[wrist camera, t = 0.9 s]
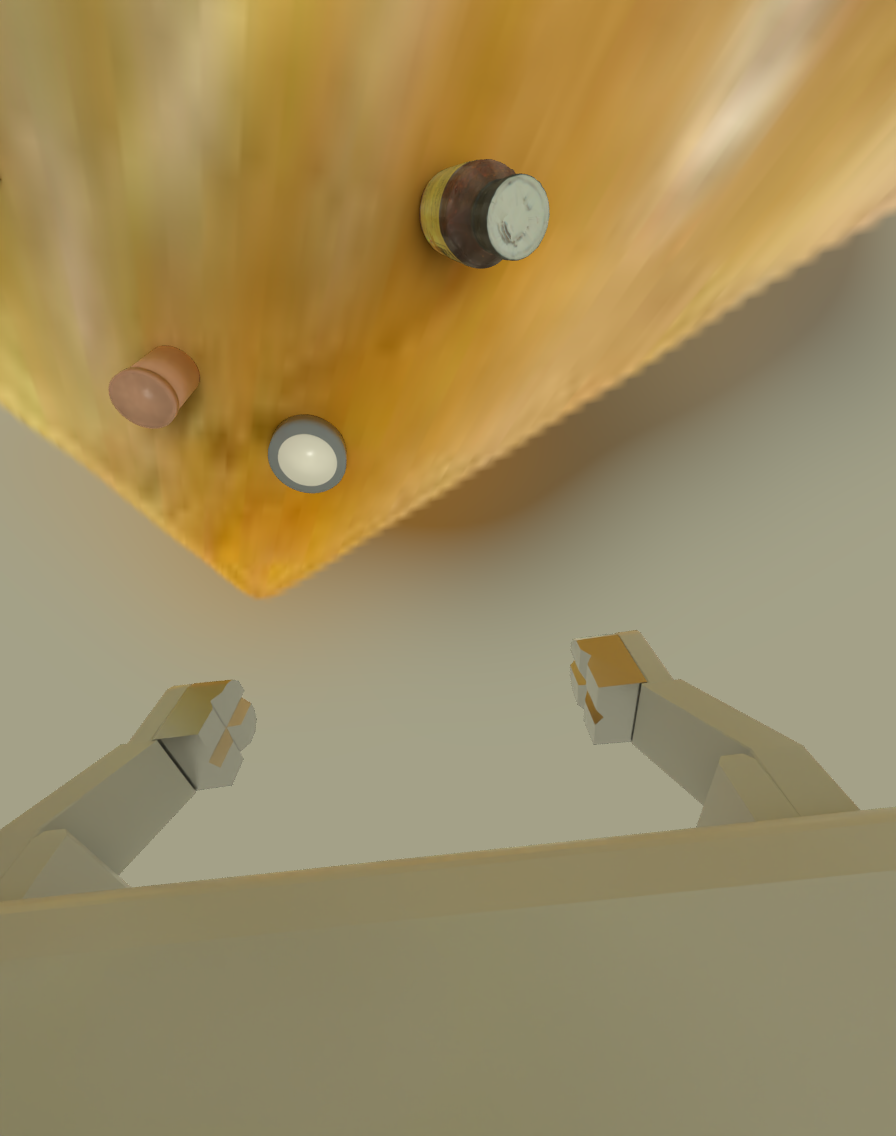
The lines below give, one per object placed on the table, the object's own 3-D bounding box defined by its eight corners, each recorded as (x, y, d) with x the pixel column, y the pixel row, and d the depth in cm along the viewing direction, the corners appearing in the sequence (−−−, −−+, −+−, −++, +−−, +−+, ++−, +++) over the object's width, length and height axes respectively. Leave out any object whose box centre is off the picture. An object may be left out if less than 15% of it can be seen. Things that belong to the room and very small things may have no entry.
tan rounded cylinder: (135, 347, 42) (95, 375, 35) (186, 340, 42) (155, 367, 36) (163, 398, 45) (130, 432, 39) (210, 391, 46) (186, 424, 39)
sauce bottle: (423, 259, 41) (461, 292, 27) (412, 173, 37) (452, 157, 22) (486, 249, 41) (559, 276, 27) (483, 162, 37) (567, 140, 23)
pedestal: (260, 420, 49) (255, 431, 46) (335, 409, 49) (335, 419, 47) (286, 486, 55) (283, 498, 52) (353, 475, 55) (353, 487, 53)
